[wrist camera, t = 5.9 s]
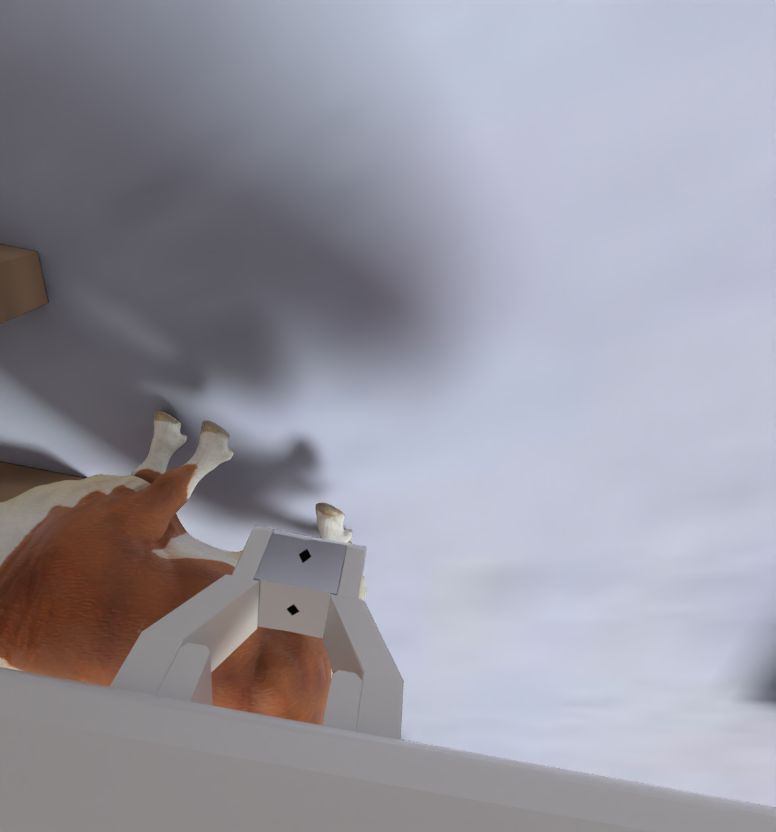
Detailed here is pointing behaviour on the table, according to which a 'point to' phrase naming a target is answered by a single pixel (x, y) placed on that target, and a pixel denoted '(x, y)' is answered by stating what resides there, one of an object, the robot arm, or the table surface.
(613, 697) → the table surface
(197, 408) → the table surface
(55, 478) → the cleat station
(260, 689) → the bull figurine
